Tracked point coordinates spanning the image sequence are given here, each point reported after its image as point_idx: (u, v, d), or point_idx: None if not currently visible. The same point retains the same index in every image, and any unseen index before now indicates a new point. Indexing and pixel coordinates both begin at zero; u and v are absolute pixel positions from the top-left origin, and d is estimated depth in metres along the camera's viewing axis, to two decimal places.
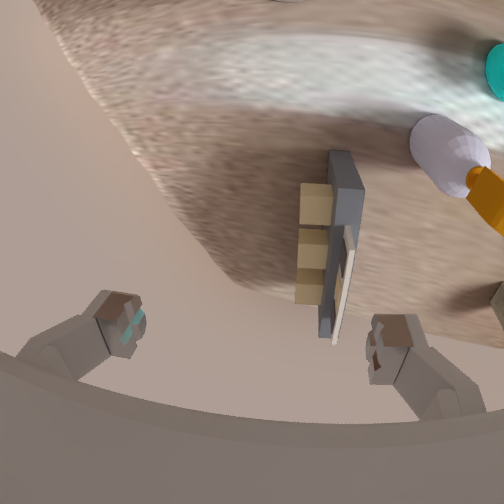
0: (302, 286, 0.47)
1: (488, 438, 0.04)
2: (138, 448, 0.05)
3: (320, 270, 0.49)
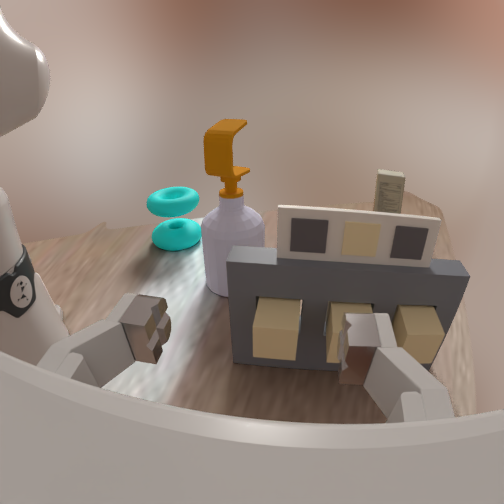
0: (409, 327, 0.27)
1: (488, 438, 0.04)
2: (139, 448, 0.05)
3: None
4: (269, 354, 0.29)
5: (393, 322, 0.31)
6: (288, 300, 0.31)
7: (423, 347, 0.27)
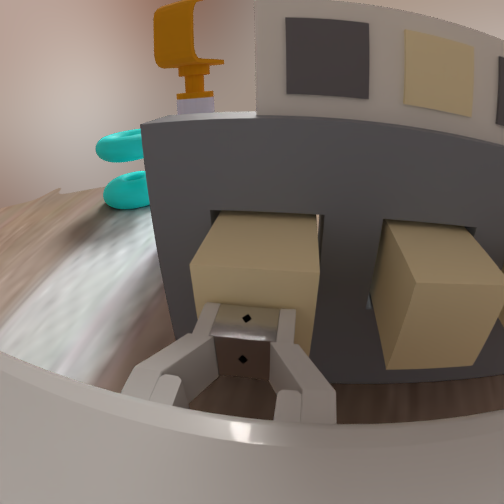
0: None
1: (488, 438, 0.04)
2: (138, 448, 0.05)
3: None
4: None
5: None
6: (288, 216, 0.13)
7: None
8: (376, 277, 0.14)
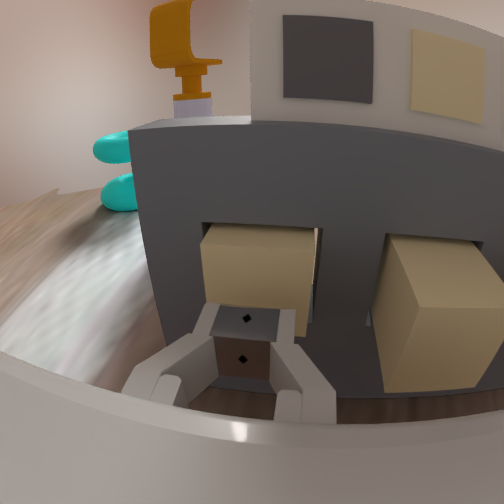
0: None
1: (488, 439, 0.04)
2: (138, 448, 0.05)
3: None
4: None
5: None
6: None
7: None
8: (377, 293, 0.13)
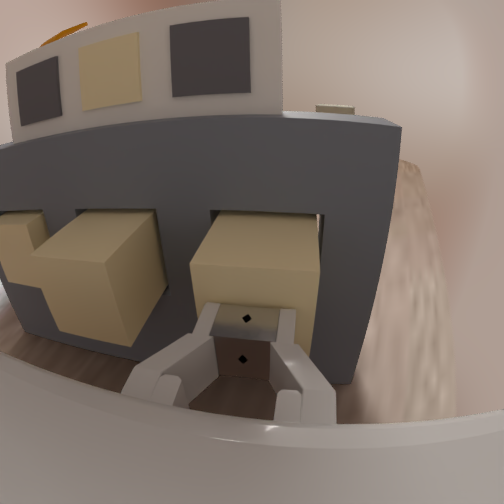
0: (211, 248, 0.11)
1: (488, 438, 0.04)
2: (139, 448, 0.05)
3: None
4: (19, 276, 0.16)
5: None
6: None
7: None
8: None
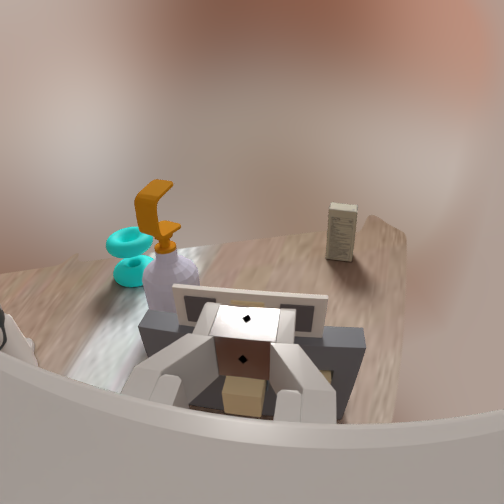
0: None
1: (488, 439, 0.04)
2: (139, 448, 0.05)
3: None
4: None
5: None
6: None
7: None
8: None
